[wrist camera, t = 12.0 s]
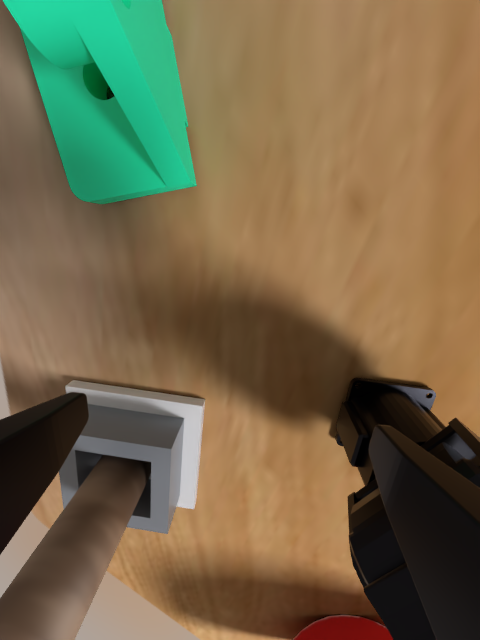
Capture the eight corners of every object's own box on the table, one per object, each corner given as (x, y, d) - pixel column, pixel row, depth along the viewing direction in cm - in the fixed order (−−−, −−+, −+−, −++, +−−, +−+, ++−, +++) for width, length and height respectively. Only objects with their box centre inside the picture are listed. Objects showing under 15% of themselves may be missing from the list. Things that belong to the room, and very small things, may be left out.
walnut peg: (166, 451, 24) (78, 656, 13) (141, 478, 26) (38, 688, 14) (126, 423, 24) (-6, 612, 12) (102, 452, 25) (-40, 649, 13)
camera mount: (37, -5, 16) (-309, -371, 6) (157, -43, 15) (-31, -537, 5) (99, 208, 20) (-63, 182, 10) (200, 188, 19) (132, 138, 9)
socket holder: (205, 399, 24) (192, 435, 19) (196, 499, 27) (184, 548, 23) (73, 379, 24) (32, 411, 20) (82, 481, 28) (49, 526, 24)
